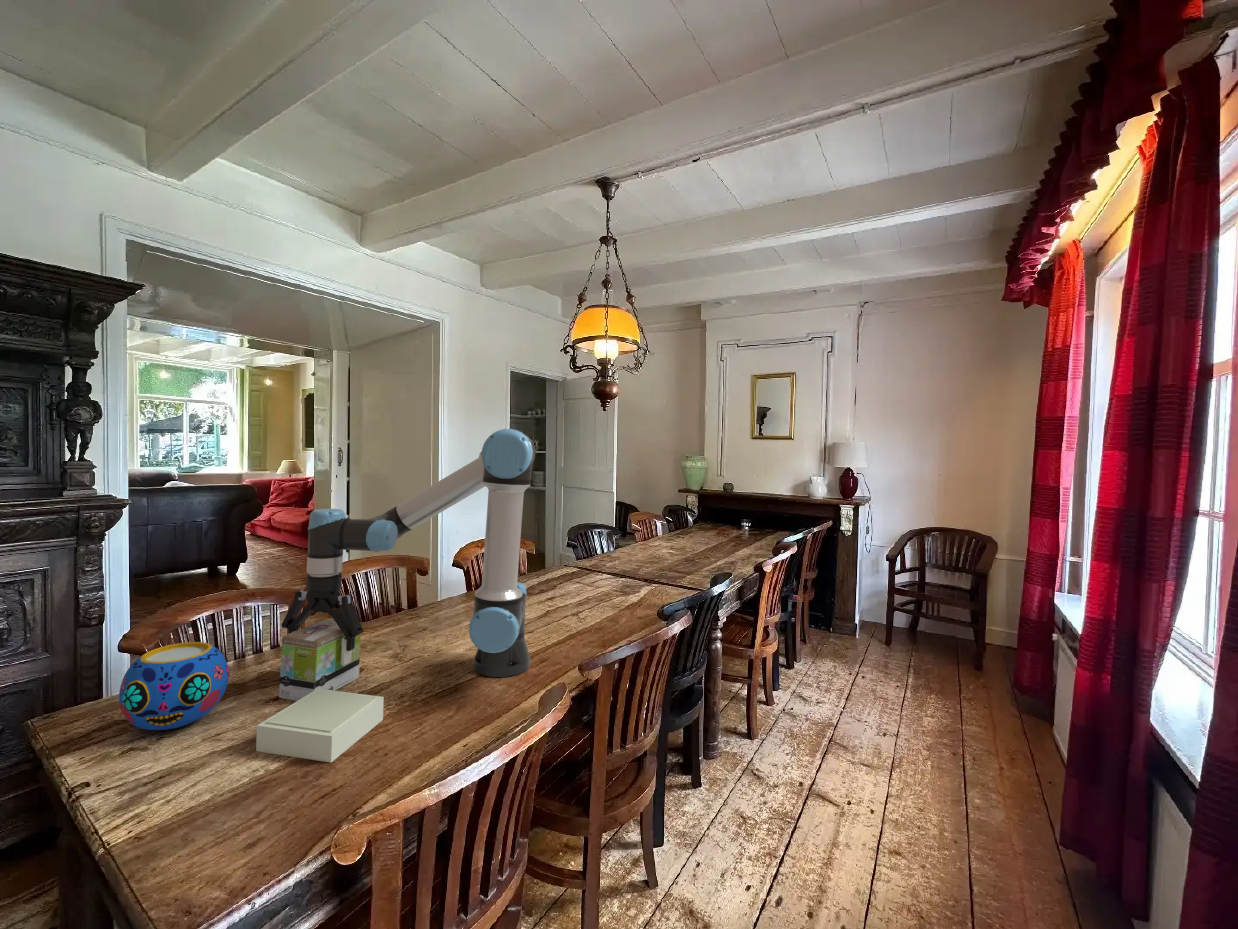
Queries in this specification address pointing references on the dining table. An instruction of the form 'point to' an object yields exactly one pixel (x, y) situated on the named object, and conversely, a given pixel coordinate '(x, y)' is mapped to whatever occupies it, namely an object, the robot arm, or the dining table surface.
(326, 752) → the block
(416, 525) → the robot arm
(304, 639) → the tea box
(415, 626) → the dining table surface
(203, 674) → the ceramic pot
